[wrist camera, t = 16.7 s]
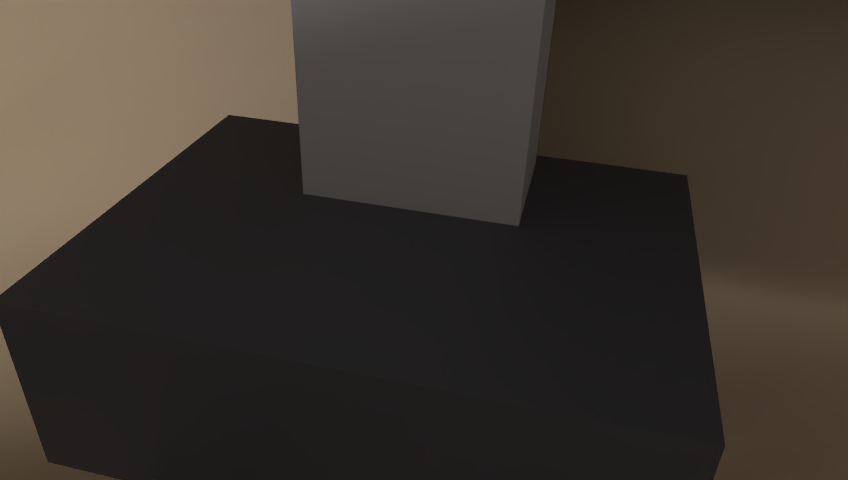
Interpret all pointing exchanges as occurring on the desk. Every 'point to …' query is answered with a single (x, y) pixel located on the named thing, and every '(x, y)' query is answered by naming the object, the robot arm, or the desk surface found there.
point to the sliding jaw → (381, 283)
